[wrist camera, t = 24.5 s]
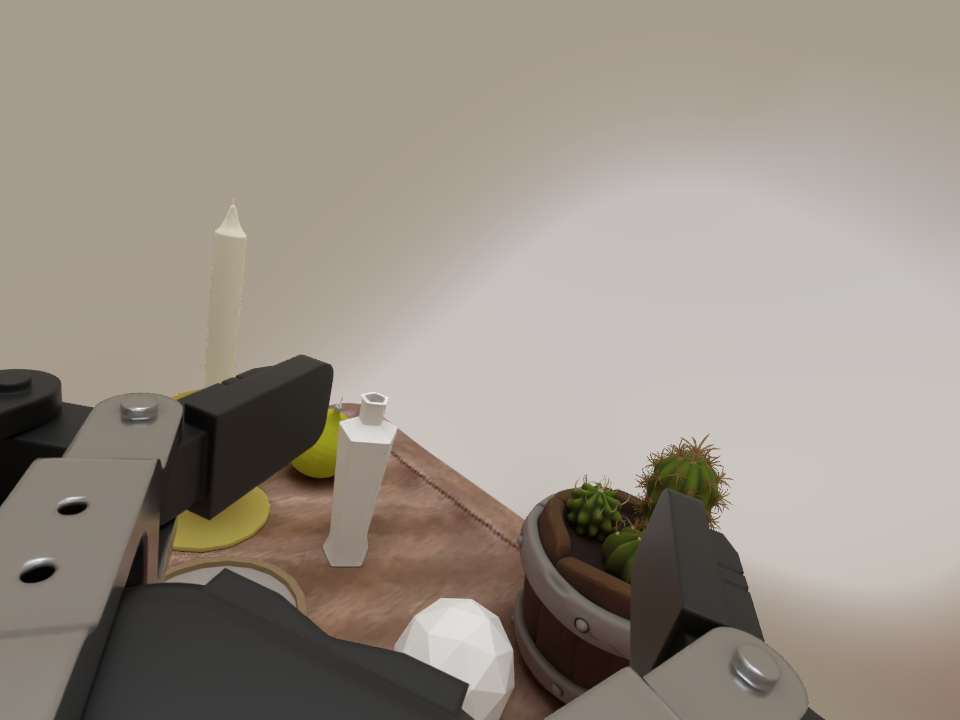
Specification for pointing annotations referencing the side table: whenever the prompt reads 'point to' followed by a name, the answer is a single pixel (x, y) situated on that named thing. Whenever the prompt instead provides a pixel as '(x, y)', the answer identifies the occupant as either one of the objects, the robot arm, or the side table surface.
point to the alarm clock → (247, 567)
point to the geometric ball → (465, 652)
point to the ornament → (322, 449)
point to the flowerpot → (592, 572)
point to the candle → (220, 366)
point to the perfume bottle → (358, 479)
